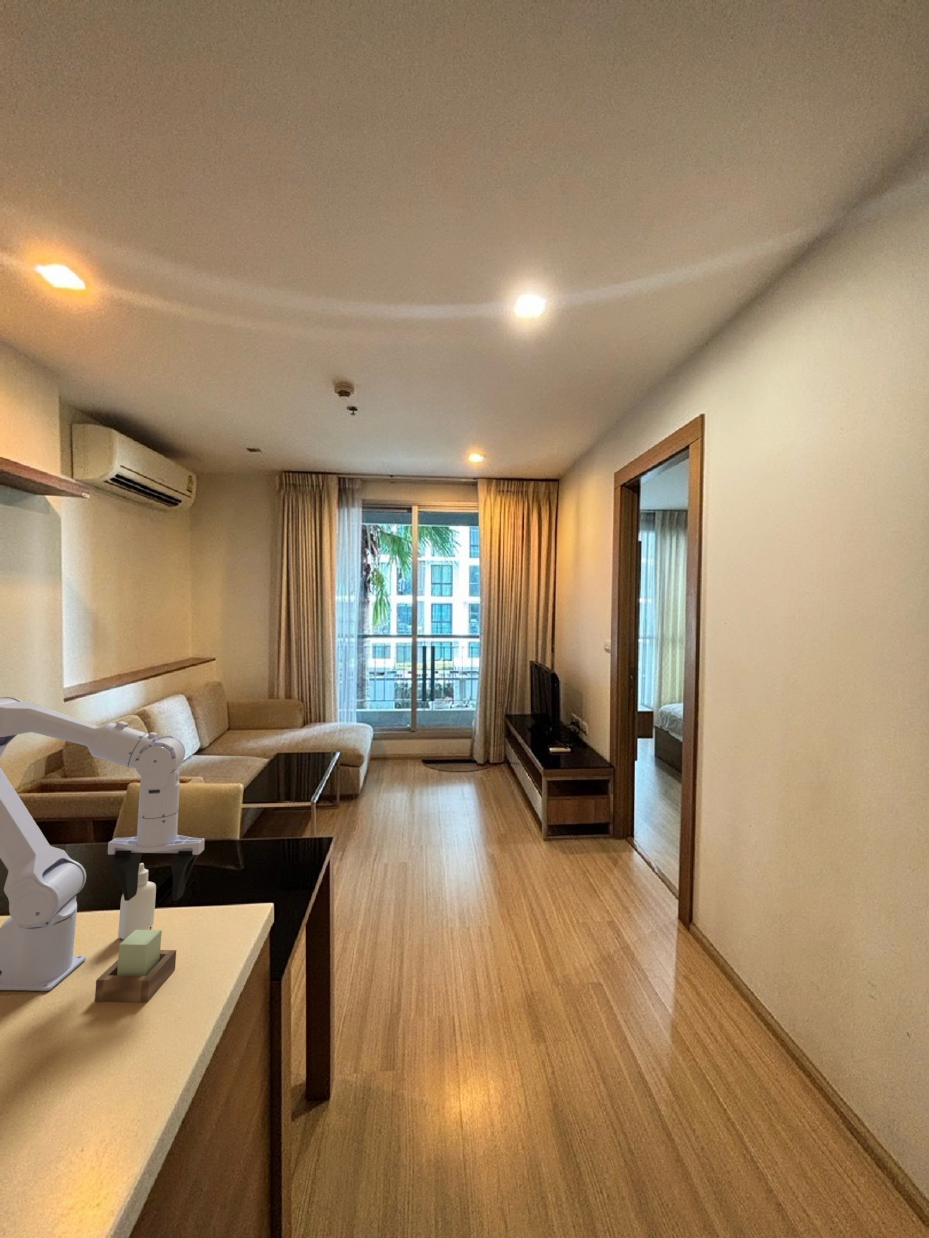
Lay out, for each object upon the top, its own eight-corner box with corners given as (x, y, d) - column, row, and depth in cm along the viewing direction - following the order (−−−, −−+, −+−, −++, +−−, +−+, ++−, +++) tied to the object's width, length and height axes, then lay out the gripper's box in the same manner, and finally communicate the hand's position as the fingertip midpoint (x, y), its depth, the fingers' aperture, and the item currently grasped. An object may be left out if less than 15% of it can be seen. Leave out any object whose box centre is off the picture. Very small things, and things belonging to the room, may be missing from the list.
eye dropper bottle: (115, 932, 91) (120, 863, 91) (151, 922, 94) (156, 856, 95) (119, 943, 87) (125, 872, 88) (156, 932, 91) (161, 863, 92)
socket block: (94, 1001, 73) (96, 979, 74) (127, 968, 81) (128, 949, 81) (147, 1001, 74) (149, 980, 74) (175, 969, 81) (176, 950, 81)
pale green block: (115, 993, 75) (119, 944, 76) (132, 975, 79) (135, 929, 80) (143, 993, 76) (146, 944, 76) (158, 976, 79) (161, 929, 80)
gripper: (214, 805, 88) (210, 886, 87) (128, 805, 87) (124, 886, 87) (194, 819, 81) (189, 907, 80) (101, 818, 80) (96, 907, 80)
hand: (154, 897), depth 83 cm, fingers open, 7 cm apart
